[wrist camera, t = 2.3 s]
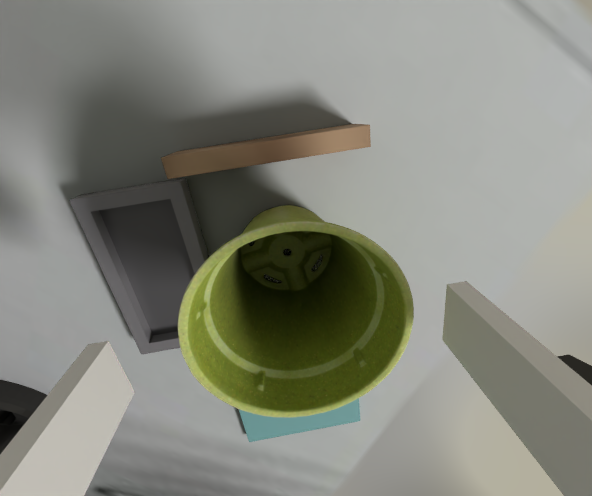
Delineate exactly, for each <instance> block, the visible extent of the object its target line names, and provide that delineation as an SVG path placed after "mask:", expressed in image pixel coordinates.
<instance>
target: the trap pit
mask: <svg viewBox="0 0 592 496" xmlns="http://www.w3.org/2000/svg"><path fill="white" fill-rule="evenodd" d="M69 201H70V203H71V205H72V208H73V210H74V212H75V214H76V216H77V218H78V220H79V223H80V225H81V227H82V229H83V231H84V233H85V235H86V237H87V240H88V242H89V244H90V246H91V248H92V250H93V252H94V254H95V257H96V259H97V261H98V263H99V265H100V267H101V269H102V272H103V274H104V276H105V278H106V280H107V282H108V284H109V286H110V289H111V291H112V293H113V295H114V297H115V299H116V301H117V304H118V306H119V308H120V310H121V312H122V314H123V316H124V318H125V321H126V323H127V325H128V327H129V329H130V331H131V333H132V336H133V338H134V340H135V342H136V344H137V346H138V348H139V350H140V353H141V354H147V353H152V352H158V351H163V350H169V349H174V348H180V344H179V336H178V316H179V310H180V305H181V302H182V299H183V296H184V293H185V291H186V289H187V287H188V285H189V283H190V281H191V279H192V278H193V276H194V275H195V273H196V272H197V270H198V269H199V268H200V267H201V265H202V264H203V263H204V262H205V261H206V260H207V259H208V258H209V256H208V252H207V249H206V246H205V242H204V239H203V235H202V232H201V229H200V225H199V222H198V218H197V215H196V211H195V208H194V205H193V201H192V198H191V194H190V191H189V188H188V184H187V181H186V178H183V179H177V180H170V181H164V182H158V183H152V184H146V185H139V186H133V187H127V188H121V189H114V190H108V191H102V192H96V193H89V194H83V195H80V196H77V197H75V198H73V199H70V200H69Z"/></svg>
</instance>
